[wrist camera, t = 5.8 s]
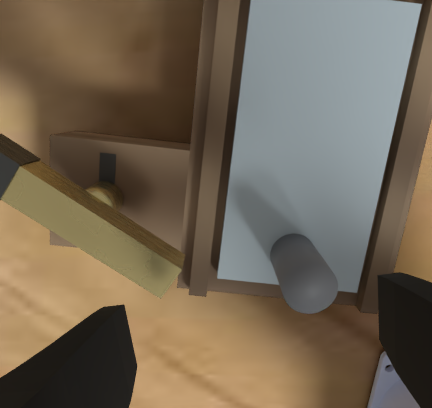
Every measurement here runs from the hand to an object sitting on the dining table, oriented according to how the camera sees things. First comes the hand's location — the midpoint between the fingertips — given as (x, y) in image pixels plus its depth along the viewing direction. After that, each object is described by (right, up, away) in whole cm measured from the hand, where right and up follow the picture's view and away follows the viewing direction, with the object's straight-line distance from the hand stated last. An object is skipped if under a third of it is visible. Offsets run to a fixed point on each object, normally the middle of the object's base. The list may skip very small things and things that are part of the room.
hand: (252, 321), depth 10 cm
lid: (+3, +6, +5) cm, 8 cm away
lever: (-6, +4, +6) cm, 9 cm away
